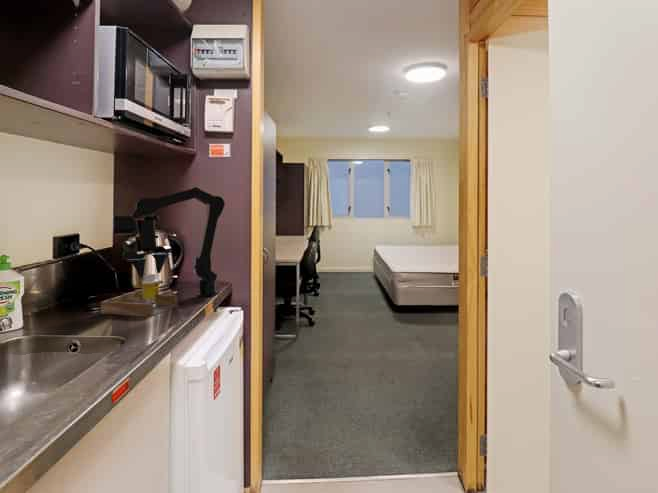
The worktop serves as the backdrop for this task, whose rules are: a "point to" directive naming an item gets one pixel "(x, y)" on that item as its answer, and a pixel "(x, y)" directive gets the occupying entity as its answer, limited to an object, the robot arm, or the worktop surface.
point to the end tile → (161, 309)
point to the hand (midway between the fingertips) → (150, 275)
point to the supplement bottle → (150, 288)
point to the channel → (136, 304)
